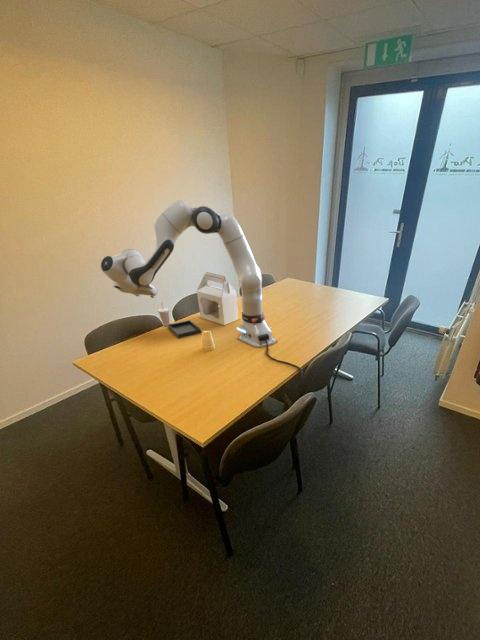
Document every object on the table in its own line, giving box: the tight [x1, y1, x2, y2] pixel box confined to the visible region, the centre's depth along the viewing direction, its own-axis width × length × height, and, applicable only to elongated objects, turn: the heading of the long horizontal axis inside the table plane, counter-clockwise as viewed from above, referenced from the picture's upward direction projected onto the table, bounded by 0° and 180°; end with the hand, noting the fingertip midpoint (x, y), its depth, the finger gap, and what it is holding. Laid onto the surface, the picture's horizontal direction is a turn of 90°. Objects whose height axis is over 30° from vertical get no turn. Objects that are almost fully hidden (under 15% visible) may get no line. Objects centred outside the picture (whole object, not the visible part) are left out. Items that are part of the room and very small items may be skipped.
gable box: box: [196, 271, 239, 326], centre depth 186 cm, size 22×13×28 cm, turn 55°
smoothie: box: [157, 302, 171, 327], centre depth 179 cm, size 6×6×14 cm
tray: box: [167, 319, 202, 339], centre depth 176 cm, size 17×14×2 cm
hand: (146, 295), depth 161 cm, fingers open, 8 cm apart
